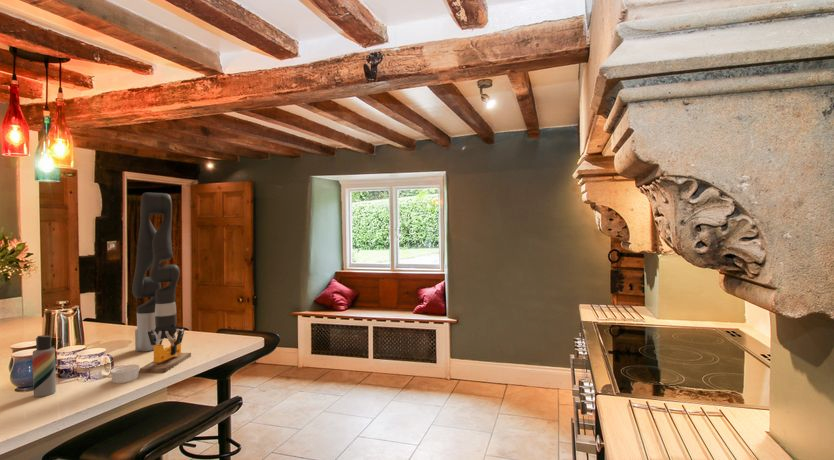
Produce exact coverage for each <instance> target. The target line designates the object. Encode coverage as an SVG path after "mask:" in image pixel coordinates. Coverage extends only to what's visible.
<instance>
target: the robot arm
mask: <svg viewBox="0 0 834 460" xmlns="http://www.w3.org/2000/svg"><path fill="white" fill-rule="evenodd" d="M151 215H162V222H161V224H160V226H159V227H158V229H156V228H155V227H154V225H153V223H152V221H151V219H150V217H151ZM139 217H140V219H139V220H140V221H139V232H138V239H137V248H136V261H135V270H134V274H133V280H132V286H131V288H132V289H131V290H132V291H131V293H132V296H133V297H134V298H135V299H136V298H137V299H141V298H150V299H148V301H146V302H145V303H142V304H140V305H138V306H137V307H136V329H135V330H134V343H135V347H134V348H135V351H136V352H137V351H138V352H150V351H154V346H155V345H163V341H164V340H165V339H166V340H167V339H168V342H169V343H170V346H171V355H175V354H176V352H177V345H178V344H180V343H181V344H182V342H183V338H184V335H185V334H184V333H185V328H182V329H180V328H178V326H177V324H178V323H177V322H178V321H177V305H176V304H177V303H176V290H177V286H178V281H179V278H180V274H181V270H180V267H179V266H178V265H177V264H161V263H162V262H166V261H169V260H171V259H173V257H174V254H173V243H172V222H173V201H172V197H171V195H170V194H168V193H164V192H143V193H142V195H141V197H140V214H139ZM149 269H150V270H149ZM148 271H150V272H149V276H146V273H147V272H148ZM168 282H169V283H168ZM162 283H168V284H167V285H166V286H164V287H162ZM176 335H177V336H176ZM176 338H177V340H176Z"/></svg>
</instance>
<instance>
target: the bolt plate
mask: <svg viewBox="0 0 834 460" xmlns="http://www.w3.org/2000/svg"><path fill="white" fill-rule="evenodd" d="M191 357H192V352H181V354H178V355H176V356H174V357H171V358H169V359H167V360H164V361H162V362H160V363H158V362H154V360H153V361H151V362H149V363H147V364H146V365H144V366H142V367H139V373H140V374H141V373H142V374H146V373H166V372H169V371H170V370H172V369H173V368H175V367H176V366H177V365H179V363H180V364H181V363H182V362H184V361H186V360H187V359H189V358H191ZM174 366H175V367H174ZM171 368H172V369H171ZM168 370H169V371H168Z"/></svg>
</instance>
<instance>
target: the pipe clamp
mask: <svg viewBox="0 0 834 460" xmlns="http://www.w3.org/2000/svg"><path fill="white" fill-rule="evenodd" d="M176 340H177V337H176ZM181 353H182V342H181V343H180V344H178V345H177V352H176V354H175V355H171V345H169V346H166V347H164V344H161V345H155V346H154V350H153V361H154V362H158V363H160V362H162V361H164V360H167V359H169V358H171V357H174V356H176V355H178V354H181Z"/></svg>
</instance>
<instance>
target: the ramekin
mask: <svg viewBox="0 0 834 460" xmlns="http://www.w3.org/2000/svg"><path fill="white" fill-rule="evenodd" d="M139 369H140V365H139V364H134V363H133V364H126V365H121V366H116V367H114V368H112V369H111V370H110V374H111V375H110V376H111V381H112V383H113V384H126V383H130V382H133V381H135V380H137V379H138V378H139V373H140V371H139Z"/></svg>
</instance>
